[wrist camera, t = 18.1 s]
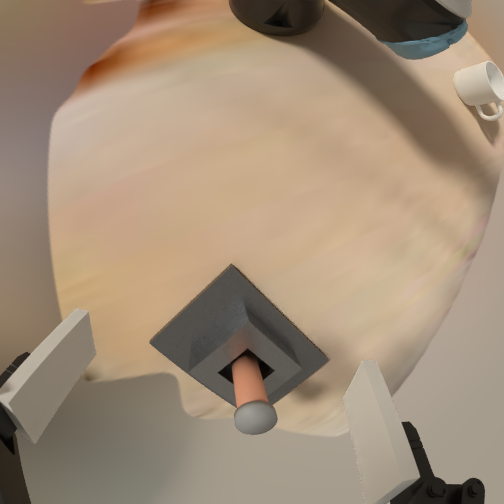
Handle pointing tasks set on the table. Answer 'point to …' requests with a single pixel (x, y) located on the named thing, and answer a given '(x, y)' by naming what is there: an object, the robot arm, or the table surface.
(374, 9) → the robot arm
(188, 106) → the table surface
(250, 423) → the pin
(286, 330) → the hitch plate
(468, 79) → the cup
